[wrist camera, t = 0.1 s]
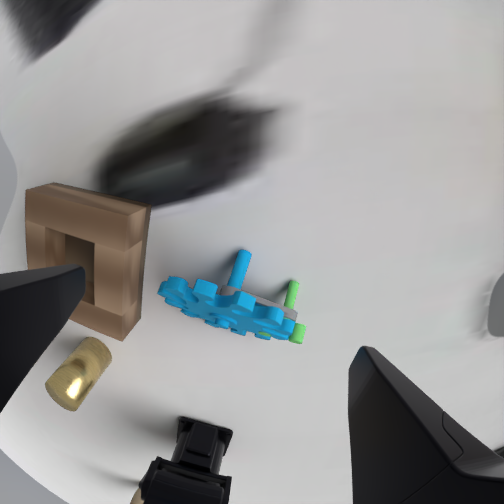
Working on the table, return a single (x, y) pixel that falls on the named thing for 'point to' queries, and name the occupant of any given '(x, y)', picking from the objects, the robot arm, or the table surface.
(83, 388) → the pin
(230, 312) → the gear
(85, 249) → the socket block
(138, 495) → the handle
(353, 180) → the table surface
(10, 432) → the table surface
